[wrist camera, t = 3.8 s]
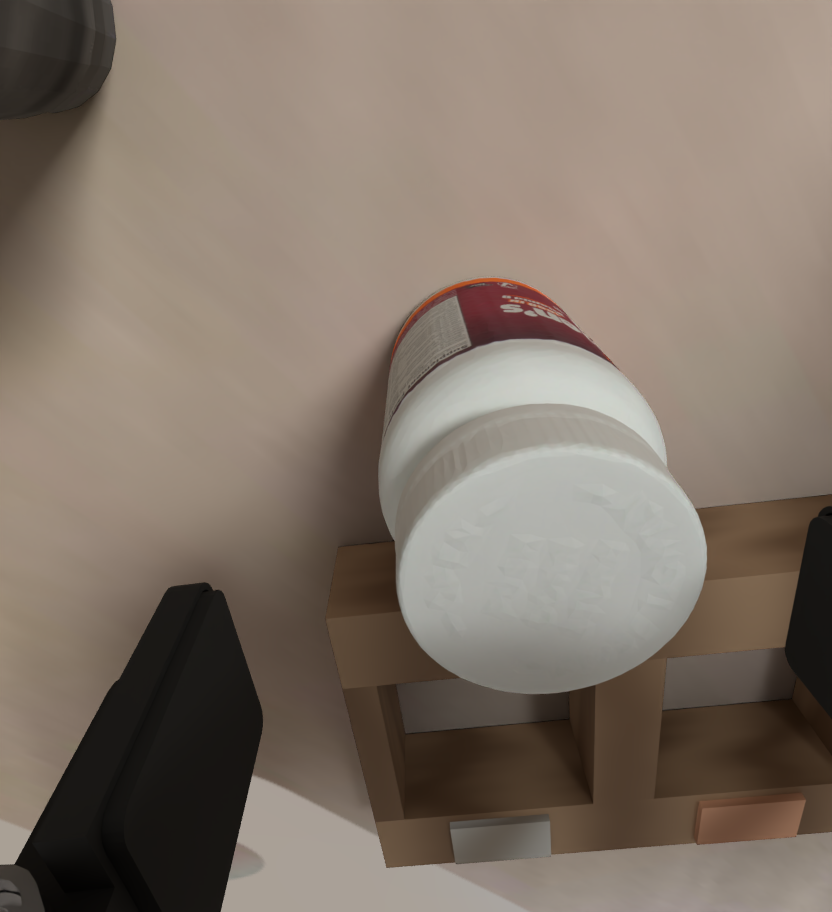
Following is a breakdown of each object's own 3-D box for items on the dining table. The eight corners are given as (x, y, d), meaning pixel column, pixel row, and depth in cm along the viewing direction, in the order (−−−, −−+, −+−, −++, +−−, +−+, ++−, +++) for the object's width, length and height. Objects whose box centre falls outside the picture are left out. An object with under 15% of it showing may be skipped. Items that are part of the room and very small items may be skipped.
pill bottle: (613, 342, 20) (831, 544, 9) (498, 480, 22) (575, 760, 12) (460, 230, 18) (525, 327, 8) (353, 391, 20) (297, 628, 10)
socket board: (871, 490, 22) (969, 561, 18) (806, 744, 28) (869, 836, 25) (338, 547, 23) (324, 625, 19) (389, 780, 29) (386, 875, 25)
